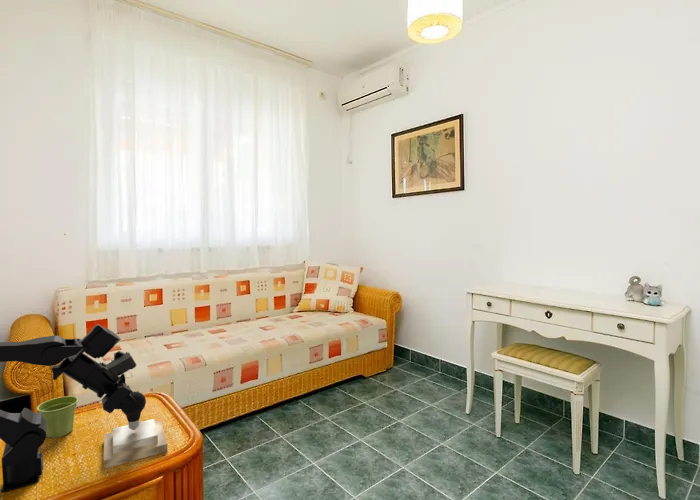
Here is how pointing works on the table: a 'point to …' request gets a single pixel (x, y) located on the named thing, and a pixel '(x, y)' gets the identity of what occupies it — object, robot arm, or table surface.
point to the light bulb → (135, 411)
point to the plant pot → (58, 415)
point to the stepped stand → (134, 443)
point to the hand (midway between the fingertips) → (139, 403)
